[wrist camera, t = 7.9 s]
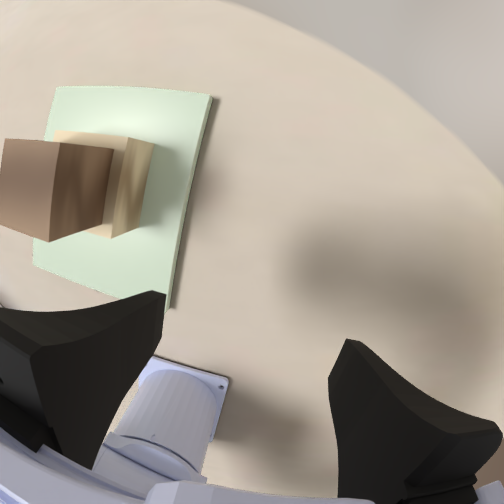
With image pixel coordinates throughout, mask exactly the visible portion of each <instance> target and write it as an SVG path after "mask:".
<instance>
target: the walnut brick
mask: <svg viewBox="0 0 504 504" xmlns="http://www.w3.org/2000/svg"><path fill="white" fill-rule="evenodd" d="M113 153H114V149H111V148H104V147H96V146H88V145H80V144H71V143H62V142H51V141H38V140H24V139H5V142H4V148H3V155H2V162H1V170H0V225H3V226H5V227H8V228H10V229H13V230H16V231H18V232H21V233H24V234H26V235H29V236H32V237H34V238H37V239H40V240H43V241H45V242H48V243H49V242H52V241H55V240H58V239H60V238H63V237H66V236H69V235H72V234H75V233H78V232H81V231H84V230H87V229H90V228H93V227H96V226H99V225H102V221H103V213H104V205H105V198H106V192H107V186H108V180H109V174H110V168H111V163H112V158H113Z"/></svg>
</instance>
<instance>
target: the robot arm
mask: <svg viewBox="0 0 504 504" xmlns="http://www.w3.org/2000/svg"><path fill="white" fill-rule="evenodd" d="M166 296H167V294H164V293H160V292H157V291H154V290H150V291H146V292H143V293H139V294H136V295H133V296H130V297H127V298H124V299H121V300H118V301H114V302H110V303H107V304H103V305H99V306H95V307H90V308H85V309H78V310H71V311H55V312H33V311H21V310H14V309H8V308H2V307H0V503H1V504H504V488H503V486H502V484H501V482H500V481H495V482H492V483H490V484H487V485H484V486H482V487H480V488H478V489H477V490H474V488H473V484H475V483H476V482H477V478H476V476H475V473H476V472H477V471H478V470H479V469H480V468H481V467H482V466H483V465H484V464H485V463H486V462H487V461H488V460H489V459H490V457H492V455H493V454H494V453H495V452H496V451H497V449H498V447H499V446H500V444H501V441H502V438H503V433H502V432H501V430H500V429H499V427H498V426H497V424H496V423H495V422H493V421H490V420H486V419H482V418H479V417H475V416H472V415H469V414H466V413H464V412H461V411H458V410H456V409H454V408H451V407H449V406H447V405H445V404H443V403H441V402H439V401H437V400H436V399H434V398H432V397H430V396H429V395H427V394H425V393H424V392H422V391H421V390H419V389H418V388H416V387H415V386H414V385H412V384H411V383H409V382H408V381H407V380H406V379H404V378H403V377H402V376H401V375H399V374H398V373H397V372H396V371H395V370H393V369H392V368H391V367H390V366H389V365H388V364H387V363H385V362H384V361H383V360H382V359H381V358H380V357H379V356H378V355H376V354H375V353H374V352H373V351H372V350H371V349H370V348H368V347H367V346H366V345H365V344H363V343H362V342H360V341H356V340H351V339H346V340H345V343H344V345H343V347H342V349H341V352H340V354H339V356H338V358H337V360H336V362H335V365H334V367H333V369H332V371H331V373H330V375H329V377H328V392H329V402H330V408H331V413H332V418H333V423H334V429H335V434H336V439H337V447H338V468H339V473H338V498H311V497H294V496H283V495H273V494H265V493H258V492H251V491H245V490H239V489H233V488H228V487H223V486H218V485H214V484H206V482H207V477H204V476H202V475H201V471H202V467H203V463H204V459H205V455H206V451H207V447H208V443H209V442H212V441H213V437H214V434H215V430H216V427H217V423H218V419H219V416H220V412H221V409H222V405H223V402H224V398H225V394H226V391H227V387H228V383H229V380H228V379H227V378H226V377H223V376H219V375H215V374H211V373H207V372H204V371H200V370H197V369H193V368H190V367H186V366H183V365H180V364H177V363H173V362H170V361H167V360H164V359H161V358H158V357H155V356H153V354H154V352H155V350H156V348H157V346H158V344H159V342H160V340H161V337H162V328H163V319H164V311H165V303H166ZM138 376H139V390H138V391H137V393H136V395H135V396H134V398H133V400H132V401H131V403H130V405H129V406H128V408H127V410H126V411H125V413H124V415H123V417H122V418H121V420H120V422H119V423H118V425H117V427H116V428H115V430H114V432H110V433H109V434H108V436H107V438H106V439H105V441H104V443H103V444H102V442H103V440H104V437H105V435H106V433H107V431H108V429H109V426H110V424H111V422H112V420H113V418H114V416H115V414H116V412H117V410H118V408H119V406H120V404H121V402H122V400H123V398H124V397H125V395H126V394H127V392H128V391H129V389H130V388H131V386H132V385H133V383H134V382H135V380H136V379H137V378H138ZM220 385H222V386H224V387H220Z"/></svg>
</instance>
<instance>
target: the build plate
mask: <svg viewBox="0 0 504 504" xmlns="http://www.w3.org/2000/svg"><path fill="white" fill-rule="evenodd" d="M212 100H213V98H212V96H211V95H209V94H202V93H195V92H187V91H179V90H169V89H159V88H146V87H128V86H64V87H57V88H56V92H55V95H54V99H53V102H52V106H51V110H50V114H49V118H48V123H47V127H46V132H45V137H44V141H51V142H53V138H54V133H55V130H63V131H76V132H87V133H97V134H106V135H115V136H123V137H130V138H134V139H138V140H142V141H146V142H150V143H154V144H155V145H154V149H153V153H152V158H151V162H150V167H149V172H148V177H147V182H146V187H145V192H144V198H143V204H142V210H141V216H140V222H139V228H136V229H134V230H132V231H129V232H127V233H124V234H122V235H119V236H117V237H115V238H112V239H109V238H106V237H102V236H99V235H95V234H92V233H89V232H85V231H81V232H78V233H75V234H72V235H69V236H66V237H63V238H60V239H58V240H55V241H52V242H49V243H48V242H45V241H43V240H40V239H37V238H34V237H33V265H34V266H37V267H39V268H41V269H44V270H46V271H48V272H51V273H53V274H56V275H58V276H60V277H63V278H65V279H68V280H71V281H73V282H76V283H78V284H81V285H83V286H86V287H89V288H91V289H94V290H97V291H100V292H102V293H105V294H108V295H111V296H113V297H116V298H119V299H124V298H127V297H130V296H133V295H136V294H139V293H143V292H146V291H150V290H154V291H157V292H160V293H164V294H167V296H166V303H165V311H164V313H166V312H167V311H168V309H169V307H170V300H171V293H172V287H173V280H174V274H175V268H176V262H177V256H178V250H179V245H180V239H181V234H182V229H183V223H184V218H185V213H186V208H187V203H188V199H189V194H190V189H191V185H192V180H193V176H194V171H195V167H196V163H197V158H198V154H199V150H200V146H201V142H202V138H203V134H204V130H205V126H206V122H207V119H208V115H209V111H210V107H211V104H212Z"/></svg>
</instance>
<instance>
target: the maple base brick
mask: <svg viewBox="0 0 504 504" xmlns="http://www.w3.org/2000/svg"><path fill="white" fill-rule="evenodd" d="M53 142H62V143H71V144H80V145H88V146H96V147H104V148H111V149H114V153H113V158H112V163H111V168H110V174H109V180H108V186H107V192H106V198H105V205H104V213H103V221H102V225H99V226H96V227H93V228H90V229H87V230H84V231H85V232H89V233H92V234H95V235H99V236H102V237H106V238H109V239H112V238H115V237H117V236H119V235H122V234H124V233H127V232H129V231H132V230H134V229H136V228H139V222H140V216H141V210H142V204H143V198H144V192H145V187H146V182H147V177H148V172H149V167H150V162H151V158H152V153H153V149H154V145H155V144H154V143H150V142H146V141H142V140H138V139H134V138H130V137H123V136H115V135H106V134H97V133H87V132H76V131H63V130H55V133H54V138H53Z"/></svg>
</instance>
